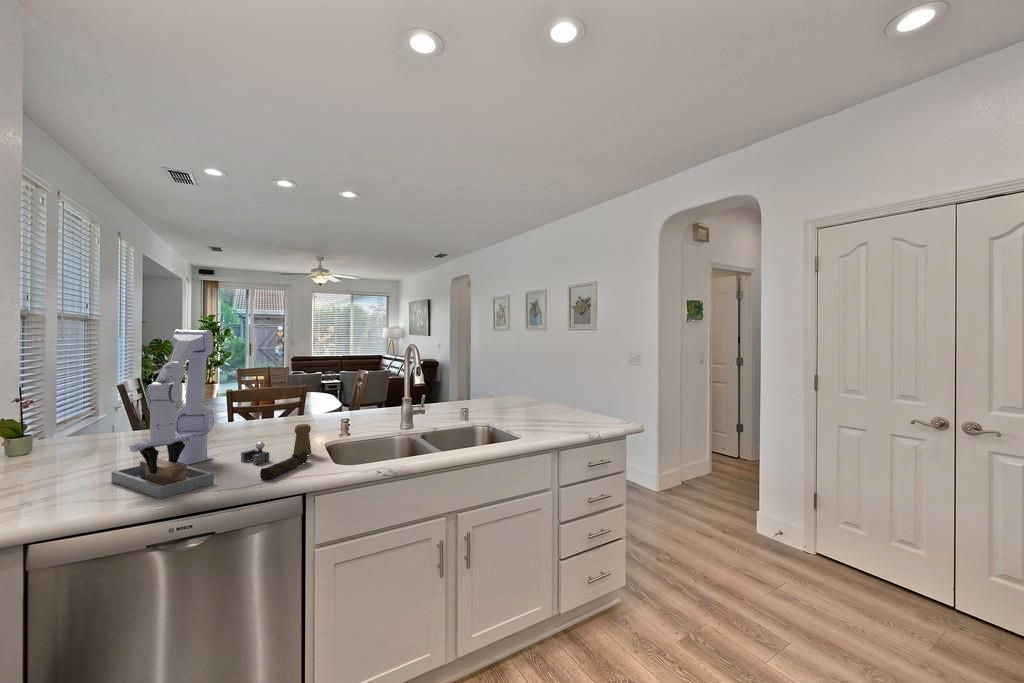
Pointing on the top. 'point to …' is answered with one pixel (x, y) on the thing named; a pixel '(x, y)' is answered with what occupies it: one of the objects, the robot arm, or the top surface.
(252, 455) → the stud bracket
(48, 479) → the top surface
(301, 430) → the olive bottle
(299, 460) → the hand tool
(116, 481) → the tray
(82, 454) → the top surface
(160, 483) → the strut
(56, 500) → the top surface
